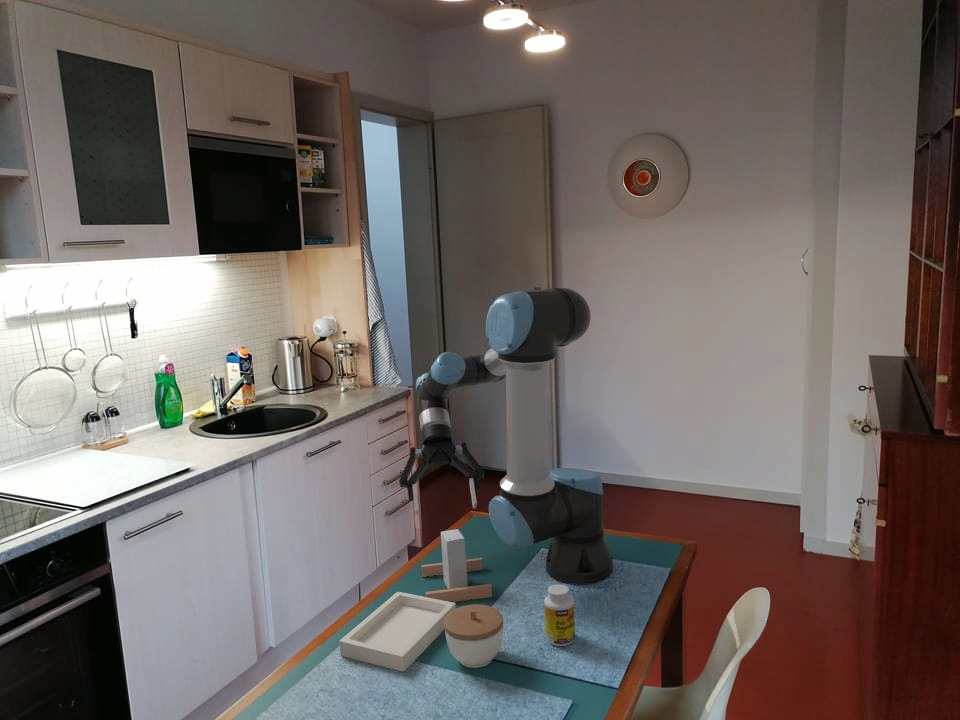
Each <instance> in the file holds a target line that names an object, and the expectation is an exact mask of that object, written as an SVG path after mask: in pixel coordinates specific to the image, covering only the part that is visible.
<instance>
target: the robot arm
mask: <svg viewBox="0 0 960 720" xmlns="http://www.w3.org/2000/svg"><path fill="white" fill-rule="evenodd" d="M591 319H592V317H591V309H590V307H589V304H588V303H587V300H586V299H585V298H584V296H582V295H581V294H580V293H579V292H577V291H576V290H573V289H571V288H569V287H568V288H566V287H553V288H546V289H545V288H544V289H534V290H523V291H519V290H518V291H514V292H511V293H506V294H503V295H499V296H498V297H497V298H496V299H495V300H494V302H493V303H492V304H490V307H489V309H488V311H487V315H486V320H485V335H486V339H487V340H489V341H488V345H489V346H490V349H487V350H486V351H485V352H483V353H479V354H476V355H474V354H473V355H469V356H461V355H460V354H458V353H457V352H455V353H454V352H451V351H445V352H442V353H440V354H439V355H438V357H437V358H436V359H435V361H434V362H433V363H432V365H431V367H430V370H429V371H428V372H425V373H423V374H422V375H421V376H418V377H417V379H416V381H415V396H416V401H417V407H418V408H417V409H418V418H419V427H420V432H421V433H420V434H421V445H422V447H421V448H419V449H418V448H416V447H414V446H412V447H410V452H409V457H408V459H407V462H406V464H405V466H404V468H403V471H402V472H401V476H400V478H399V481H398V482H399V488H406V489H407V497H408V501H409V502H412V501H413V508H414V515H415V516H418V515H419V506H418V495H417V486H416V484H417V482H418V481H419V480H420V478H421V477H422V476H423V474H424V473H425V472H426V470H427V469H429V467H430V466H431V465H432V466H434V467H436V466H439V465H441V466H445V465H448V464H450V465H451V466H452V467H454V468H455V469H457V470H458V471H459V472H461V474H463V476H465V477H466V478H467V479H469V483H468V484H469V492H470V497H471V504H472V509H477V505H478V501H477V496H476V494H477V495H478V494H479V493H480V487H479V486H480V484H479V480H483V479H484V477H485V471H484V469H483V467H482V466H481V465H480V464H479V462H478V461H477V460H476V459H475V457H474V456H473V454H471V452H470V451H469V448H468V446H467V443H466V442H463V441H462V442H461V444H459V445H456V444H454V440H453V434H452V433H453V432H452V429H451V428H452V427H451V420H450V419H451V418H450V413H449V407H448V400H449V398H450V397H451V396H452V393H453V392H454V391H455V390H456V389H462V388H469V387H472V386H473V387H474V386H478V385H483V384H490V383H497V382H500V381H504V380H505V408H506V411H505V412H506V416H505V417H506V418H505V419H506V421H505V422H506V423H505V424H506V427H505V428H506V475H504V477H503V478H501V479H500V481H499V495H495V496H494V497H493V498H492V499H491V500H490V501H489V504H488V514H489V518H490V519H489V520H490V523H491V526H492V527H493V531H495V533H496V536H498V538H499V539H500V540H501V542H503V544H505V545H506V546H507V547H509V548H511V549H517V550H518V549H522V548H525V547H532V546H533V545H535V544H538V543H541V542H544V541H547V540H548V539H551V541H550V544H549V548H548V550H547V554H546V558H545V570H546V573H547V575H548V576H549V577H550V578H552V579H554V580H555V581H558V582H561V583H565V584H570V585H590V584H594V583H595V584H596V583H600V582H602V581H604V580H606V579H607V578H609V577H610V576H611V575H612V574H613V572H614V565H613V563H614V561H613V557H612V555H611V553H610V549H609V547H608V543H607V541H606V537H605V532H604V531H605V524H604V495H605V494H604V491H603V481H602V478H601V477H600V475H599V474H597V473H596V472H594V471H591V470H588V469H583V468H577V467H560V468H554V469H552V470H551V471H550V472H549V473H548V471H549V470H548V466H549V464H548V462H549V461H548V460H549V459H548V458H549V456H548V452H549V451H548V446H549V441H548V437H549V435H548V433H549V431H548V430H549V429H548V425H549V423H548V422H549V421H548V420H549V419H548V418H549V413H548V412H549V410H548V409H549V405H548V404H549V403H548V402H549V366H550V365H551V363H553V362H554V361H555V360H556V349H557V348H563V347H565V346H568V345H570V344H571V343H573V342H577V340H579V339H580V338H581V337H583V336H584V335H585V334H586V332H587V331H588V329H589V327H590V324H591ZM456 452H458V453H459V454H460V455H461V456H462V457H463V458H464V460H465V461H466V462H467V464H468V465H469V466H468V465H466V463H464V462H463V461H462V460H460V459H459V458H458V457H457V455H456V454H455V453H456ZM420 456H422V457H423V460H422V461H421V463H420V464H419V465H418V467H417V468H416V470H415V471H414V473H412V475H411V476H410V474H411V472H412V470H413V468H414V464H415V463H416V459H418V458H419V457H420ZM548 474H549V475H548Z"/></svg>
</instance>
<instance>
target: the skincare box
mask: <svg viewBox="0 0 960 720" xmlns="http://www.w3.org/2000/svg"><path fill="white" fill-rule="evenodd" d="M440 541H441V542H440V543H441V559H442V563H443V575H442V576H443V582H444V584H445V586H446V588H447V589H454V588H462V587H469V586H468V585H469V583H468V582H469V581H468V572H467V564H466V560H467V553H466V549H467V548H466V538H465V537H464V535H463V534H462V532H461V531H460V530H459V529H458V528H456V529H450V530H443V531H440Z"/></svg>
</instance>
